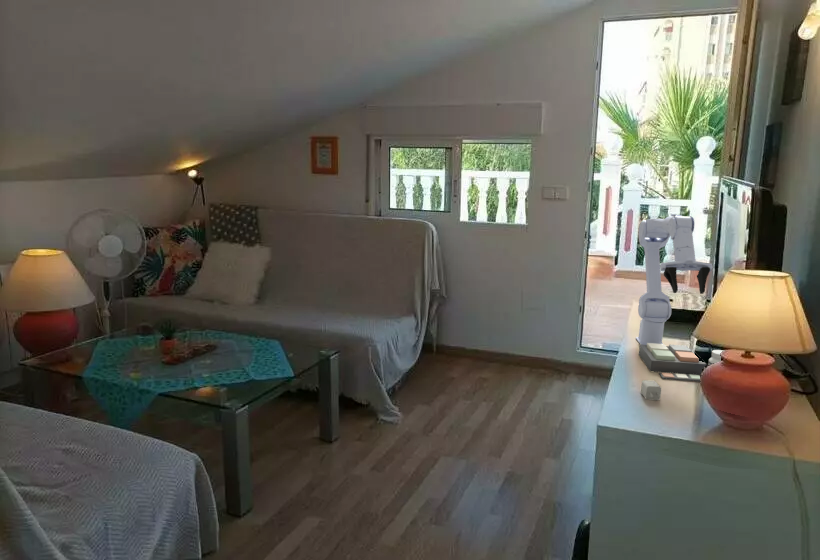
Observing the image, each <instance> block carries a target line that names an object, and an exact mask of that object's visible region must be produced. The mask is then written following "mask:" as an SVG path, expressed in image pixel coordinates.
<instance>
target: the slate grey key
mask: <svg viewBox="0 0 820 560" xmlns="http://www.w3.org/2000/svg"><path fill="white" fill-rule="evenodd" d="M668 346H669V350H670V351H671V352H672V353H673V354H675V351H679V352H692V351H691V350H690V349H689V348H690V347H689V346H688V345H685V344H681V345H680V344H670V343H669V344H668Z"/></svg>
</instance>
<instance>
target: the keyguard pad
mask: <svg viewBox="0 0 820 560" xmlns="http://www.w3.org/2000/svg"><path fill="white" fill-rule="evenodd" d="M665 346H666V347H667V348H668V349H669V345H665ZM638 348H639V349H638V356H639V357H640V359H641V360H642V362H643V363H644V365H645V366H646V367H647V369H648V370H649V372H650V371H654V372H653V373H673V374H687V375H700V374H701V372H702V369H703V368H704V367H705V366H706V367H707V363H706V362H705V361H704V362H702V361H698V362H689V361H679V360H678V359H677V358H676V357H675V361H674V360H660V359H655V358H654V356H653V355H652V352H650V351H649V350H648V349H647V345H642V344H640V343H639V347H638ZM688 348H689V349H690V350H691V351H692V350H693V349H692V348H691V347H688ZM669 351H670V350H669ZM672 354H673V353H672ZM673 355H674V356H675V354H673Z"/></svg>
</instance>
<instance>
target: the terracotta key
mask: <svg viewBox="0 0 820 560" xmlns="http://www.w3.org/2000/svg"><path fill="white" fill-rule="evenodd" d="M675 357H676V358H677V359H678V360H679V361H689V362H698V361H699V358H698V357H697V356H696V355H695V354H694V353H693V352H679V351H675Z"/></svg>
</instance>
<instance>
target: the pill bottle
mask: <svg viewBox="0 0 820 560" xmlns="http://www.w3.org/2000/svg"><path fill="white" fill-rule="evenodd" d="M722 351H724V350H721V349H713V350H712V351H711V357H710V358H709V359H708V363H707V366H708V365H711V364H713V363H716V362H719V361H721V356H720V353H721V352H722Z"/></svg>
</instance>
